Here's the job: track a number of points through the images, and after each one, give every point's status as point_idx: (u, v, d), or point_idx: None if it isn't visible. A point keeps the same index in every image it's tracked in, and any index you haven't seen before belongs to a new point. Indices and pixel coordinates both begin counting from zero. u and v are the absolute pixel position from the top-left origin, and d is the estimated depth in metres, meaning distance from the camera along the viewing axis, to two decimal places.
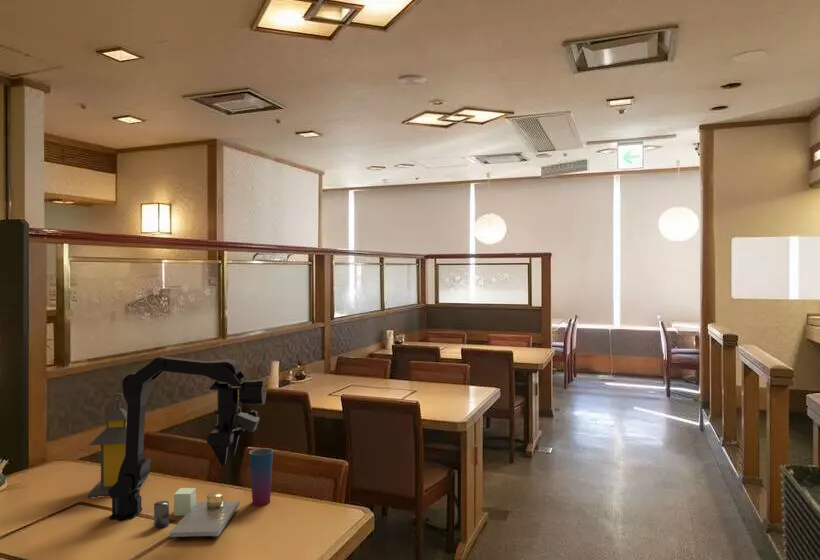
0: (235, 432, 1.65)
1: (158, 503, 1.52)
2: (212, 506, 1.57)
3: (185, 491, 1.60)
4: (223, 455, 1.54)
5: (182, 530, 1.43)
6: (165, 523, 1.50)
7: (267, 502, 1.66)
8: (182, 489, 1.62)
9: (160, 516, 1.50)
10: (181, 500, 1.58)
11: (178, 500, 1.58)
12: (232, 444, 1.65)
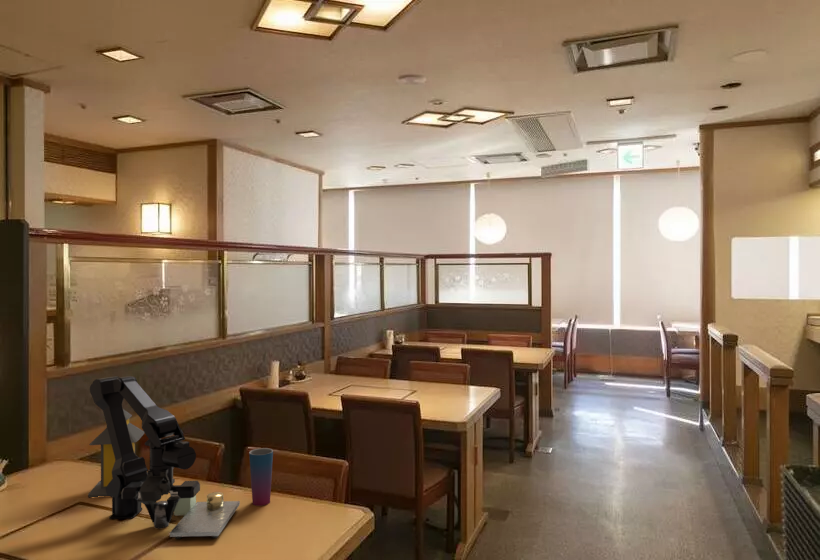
0: None
1: (158, 503, 1.52)
2: (212, 506, 1.57)
3: None
4: None
5: (182, 530, 1.43)
6: (165, 523, 1.50)
7: (267, 502, 1.66)
8: None
9: (160, 516, 1.50)
10: (181, 500, 1.58)
11: None
12: None
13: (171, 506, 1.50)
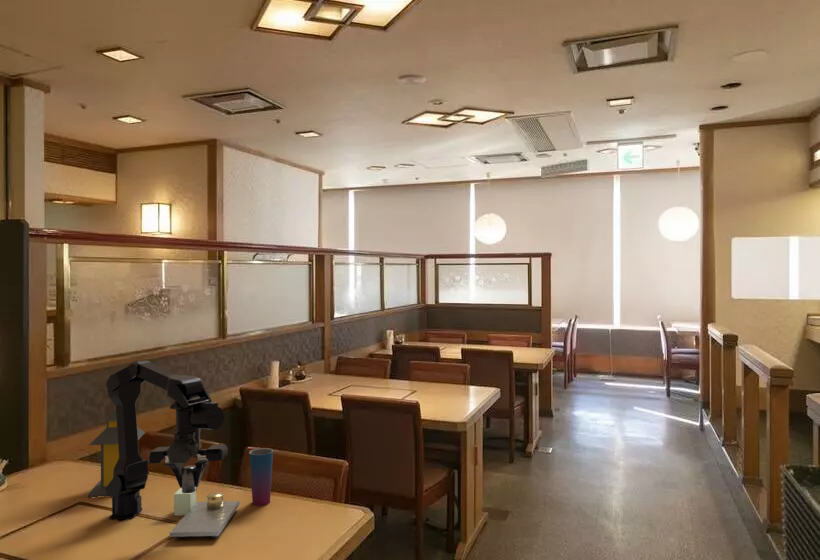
0: None
1: (185, 467, 1.47)
2: (212, 506, 1.57)
3: None
4: None
5: (182, 530, 1.43)
6: (193, 488, 1.46)
7: (267, 502, 1.66)
8: None
9: (188, 480, 1.46)
10: (181, 501, 1.58)
11: (178, 500, 1.58)
12: None
13: (199, 470, 1.46)
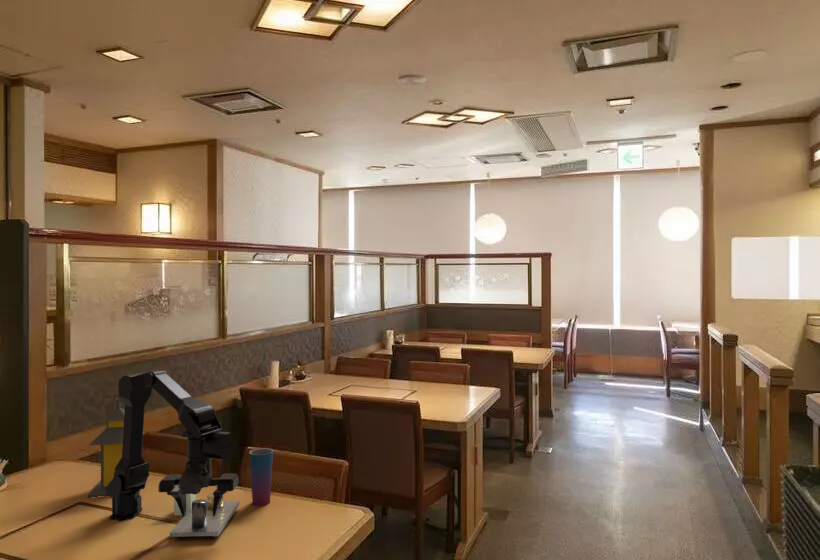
0: None
1: (196, 501, 1.46)
2: (212, 506, 1.57)
3: None
4: None
5: (182, 530, 1.43)
6: (203, 523, 1.45)
7: (267, 502, 1.66)
8: None
9: (198, 515, 1.44)
10: None
11: None
12: None
13: (217, 499, 1.45)
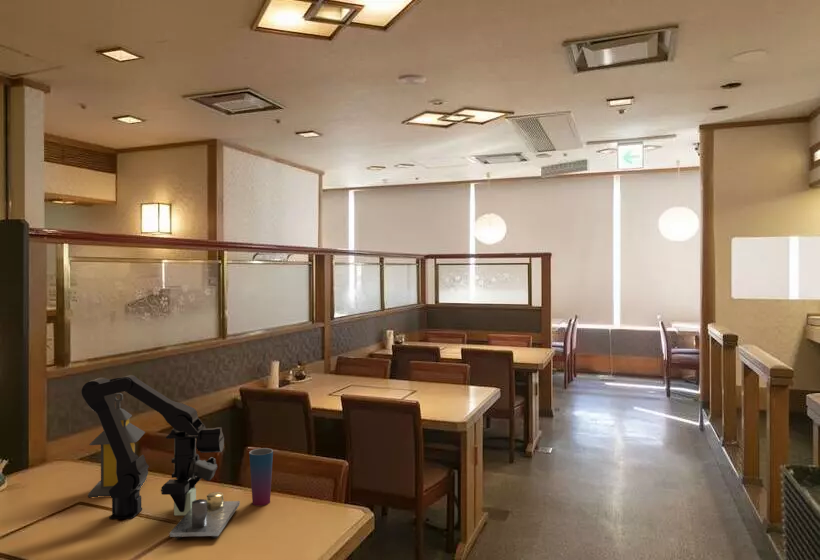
0: (191, 481, 1.63)
1: (196, 501, 1.46)
2: (212, 506, 1.57)
3: None
4: (182, 502, 1.57)
5: (182, 530, 1.43)
6: (203, 523, 1.45)
7: (267, 502, 1.66)
8: None
9: (199, 515, 1.44)
10: None
11: None
12: None
13: (194, 487, 1.64)
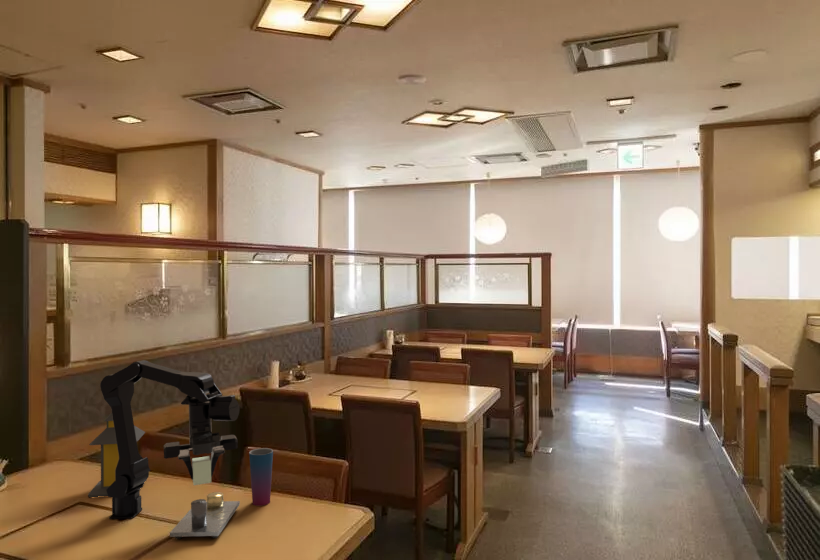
0: (212, 452, 1.55)
1: (195, 501, 1.46)
2: (212, 506, 1.57)
3: (199, 459, 1.54)
4: None
5: (182, 530, 1.43)
6: (204, 522, 1.45)
7: (267, 502, 1.66)
8: (206, 457, 1.56)
9: (199, 514, 1.44)
10: (192, 467, 1.54)
11: (192, 466, 1.55)
12: (211, 464, 1.56)
13: (215, 460, 1.55)
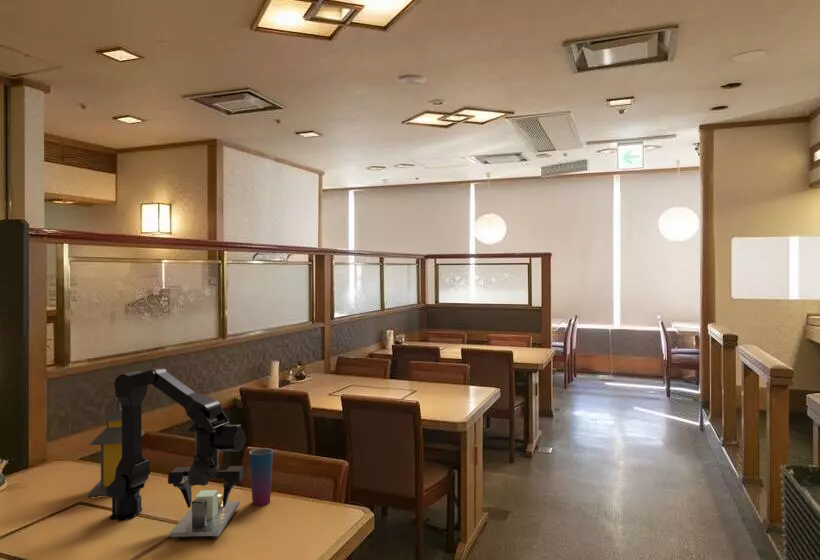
0: None
1: (195, 501, 1.46)
2: None
3: (205, 493, 1.52)
4: None
5: (182, 530, 1.43)
6: (204, 522, 1.45)
7: (267, 502, 1.66)
8: (213, 491, 1.53)
9: (200, 514, 1.44)
10: None
11: None
12: None
13: (227, 491, 1.51)
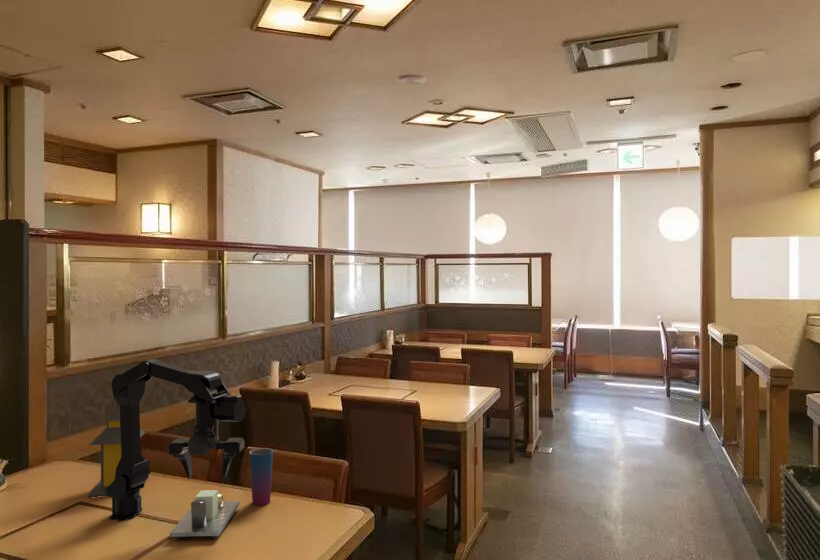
0: None
1: (194, 502, 1.45)
2: None
3: (205, 493, 1.52)
4: None
5: (182, 530, 1.43)
6: (205, 522, 1.45)
7: (267, 502, 1.66)
8: (213, 491, 1.53)
9: (200, 515, 1.44)
10: None
11: None
12: None
13: (227, 462, 1.51)
